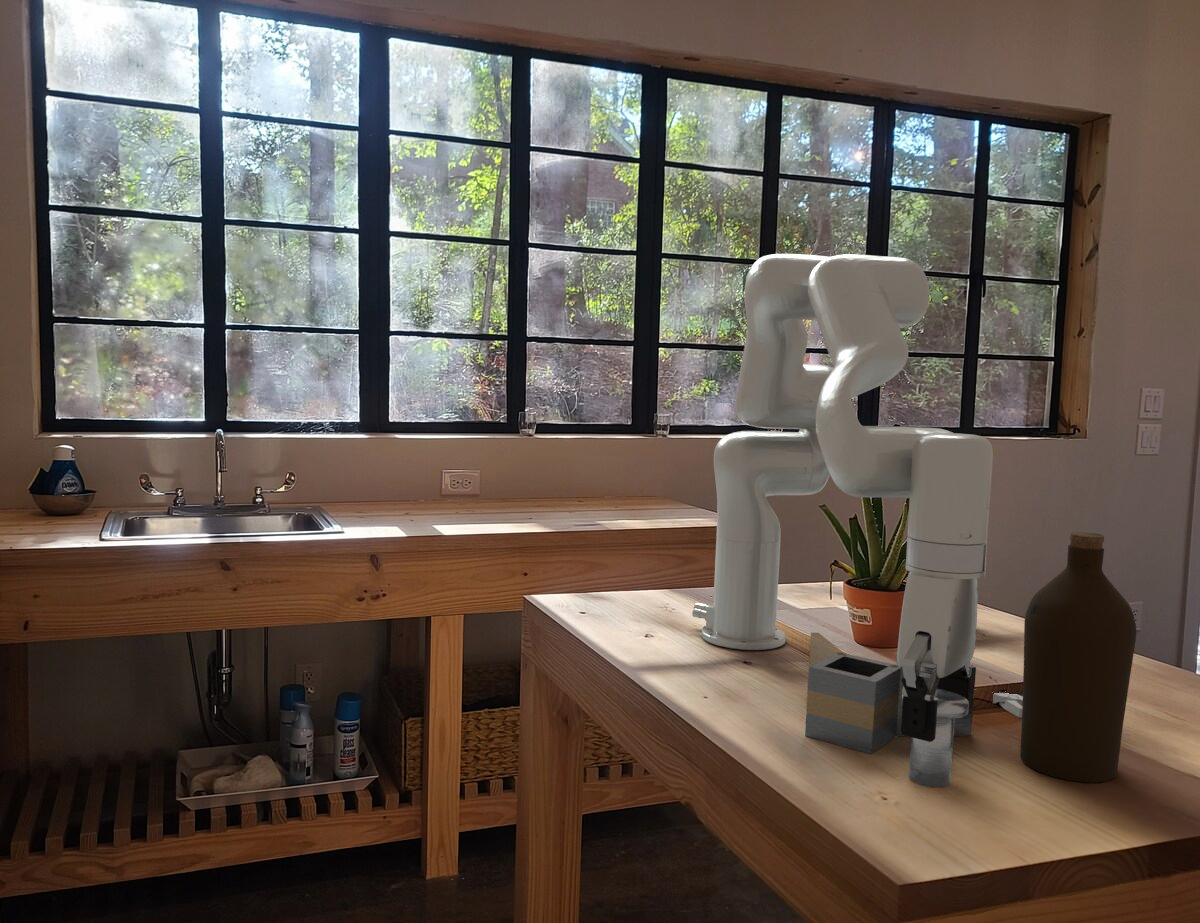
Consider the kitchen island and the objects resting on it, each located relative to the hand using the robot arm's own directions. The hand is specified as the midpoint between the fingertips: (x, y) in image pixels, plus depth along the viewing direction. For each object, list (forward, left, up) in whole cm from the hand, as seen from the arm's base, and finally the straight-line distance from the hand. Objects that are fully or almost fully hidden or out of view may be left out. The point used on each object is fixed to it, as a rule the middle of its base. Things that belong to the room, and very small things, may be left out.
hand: (935, 725), depth 100 cm
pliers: (-3, +32, -6) cm, 33 cm away
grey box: (-11, +9, -6) cm, 16 cm away
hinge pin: (0, 0, -6) cm, 6 cm away
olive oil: (+10, +14, -6) cm, 18 cm away
